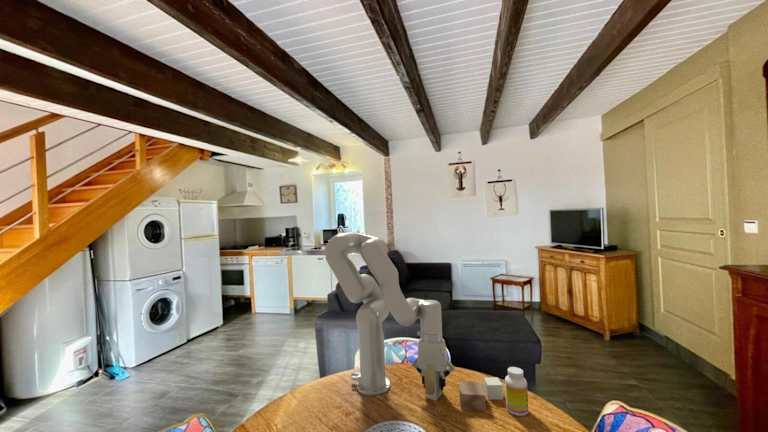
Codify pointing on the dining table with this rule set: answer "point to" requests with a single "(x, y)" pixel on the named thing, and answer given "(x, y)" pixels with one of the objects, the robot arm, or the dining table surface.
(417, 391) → the dining table surface
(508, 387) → the supplement bottle
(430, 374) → the skincare box
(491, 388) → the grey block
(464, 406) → the walnut block
